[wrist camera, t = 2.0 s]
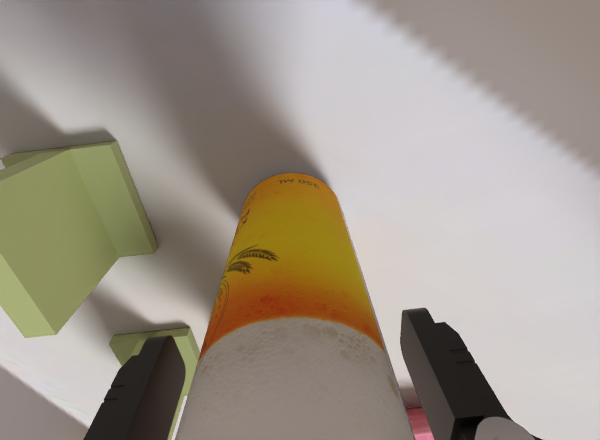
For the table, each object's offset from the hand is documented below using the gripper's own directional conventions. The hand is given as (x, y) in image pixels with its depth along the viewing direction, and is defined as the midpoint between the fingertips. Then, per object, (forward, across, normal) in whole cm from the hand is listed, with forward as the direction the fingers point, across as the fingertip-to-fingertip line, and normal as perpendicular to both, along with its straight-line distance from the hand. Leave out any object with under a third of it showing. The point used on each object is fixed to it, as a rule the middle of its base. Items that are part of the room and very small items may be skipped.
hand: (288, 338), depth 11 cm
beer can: (+10, 0, 0) cm, 10 cm away
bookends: (+10, +12, +5) cm, 16 cm away
